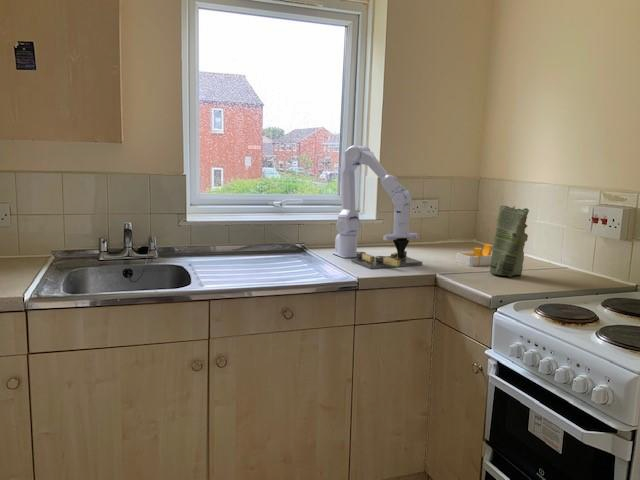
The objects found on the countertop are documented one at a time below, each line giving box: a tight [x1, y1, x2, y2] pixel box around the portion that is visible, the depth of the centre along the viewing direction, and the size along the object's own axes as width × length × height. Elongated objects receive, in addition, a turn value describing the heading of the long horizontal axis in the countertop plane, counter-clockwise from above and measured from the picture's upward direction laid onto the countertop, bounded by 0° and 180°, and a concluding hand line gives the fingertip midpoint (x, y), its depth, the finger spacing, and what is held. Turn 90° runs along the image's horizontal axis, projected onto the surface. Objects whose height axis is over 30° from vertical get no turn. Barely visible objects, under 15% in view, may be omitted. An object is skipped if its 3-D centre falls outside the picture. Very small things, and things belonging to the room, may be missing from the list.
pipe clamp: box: [473, 243, 493, 267], centre depth 225 cm, size 12×4×6 cm, turn 143°
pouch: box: [489, 205, 530, 278], centre depth 202 cm, size 11×12×25 cm
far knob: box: [390, 250, 408, 259], centre depth 221 cm, size 10×4×2 cm, turn 146°
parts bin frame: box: [455, 250, 493, 267], centre depth 225 cm, size 9×17×4 cm, turn 116°
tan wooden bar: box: [355, 251, 375, 262], centre depth 216 cm, size 10×4×2 cm, turn 26°
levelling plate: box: [351, 255, 423, 270], centre depth 218 cm, size 14×23×2 cm, turn 116°
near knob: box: [375, 255, 400, 266], centre depth 210 cm, size 10×4×2 cm, turn 46°
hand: (400, 258), depth 218 cm, fingers closed, pressing on far knob
